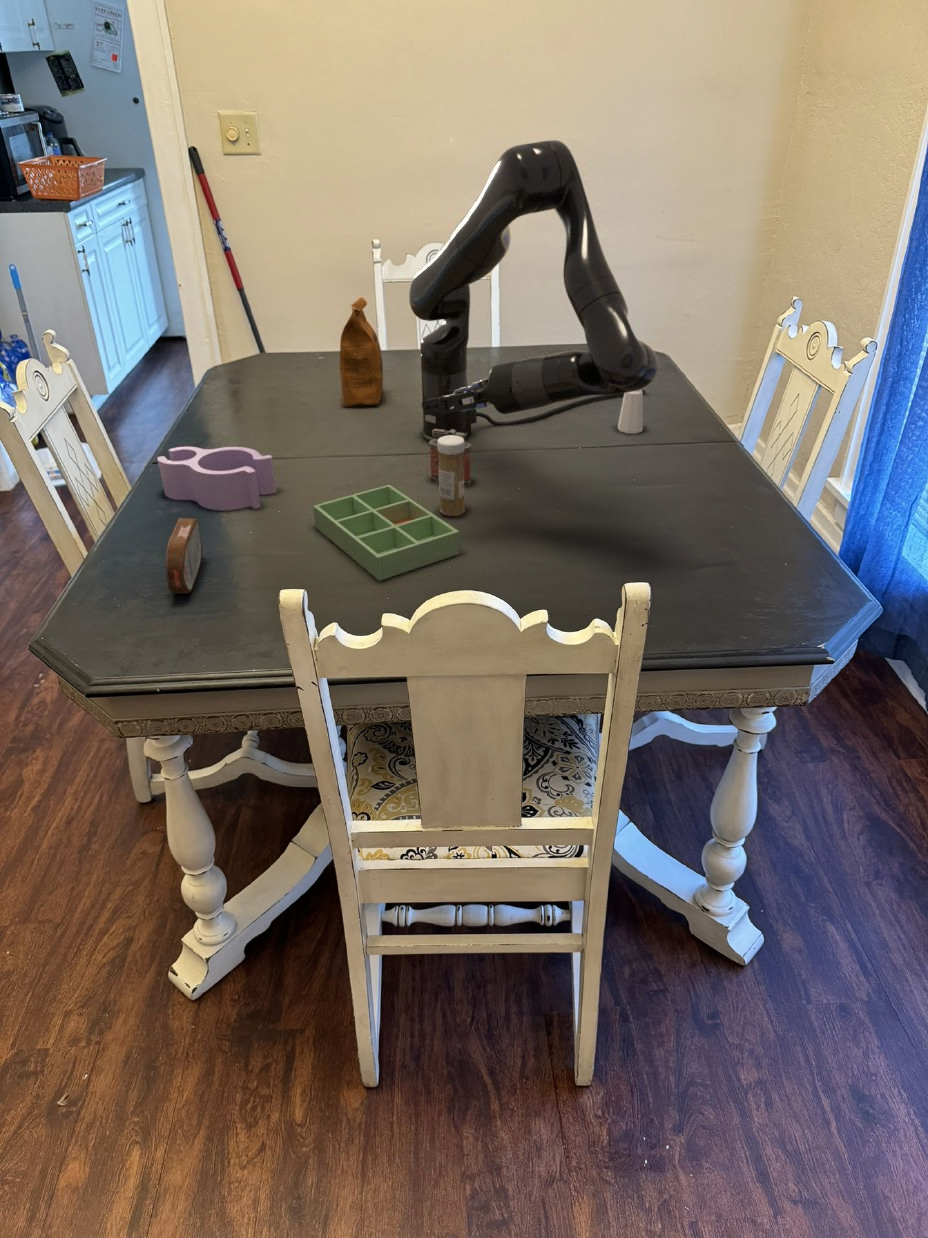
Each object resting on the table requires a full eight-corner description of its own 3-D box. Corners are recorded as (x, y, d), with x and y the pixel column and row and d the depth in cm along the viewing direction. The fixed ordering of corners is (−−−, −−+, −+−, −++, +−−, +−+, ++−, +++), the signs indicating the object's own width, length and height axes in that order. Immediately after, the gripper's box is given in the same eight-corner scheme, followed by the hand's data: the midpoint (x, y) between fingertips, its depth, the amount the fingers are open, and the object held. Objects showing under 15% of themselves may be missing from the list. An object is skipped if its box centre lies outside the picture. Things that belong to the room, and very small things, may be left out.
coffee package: (389, 391, 207) (384, 295, 195) (380, 409, 197) (374, 309, 185) (348, 390, 208) (340, 294, 196) (337, 408, 198) (328, 308, 186)
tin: (188, 555, 140) (178, 508, 136) (208, 554, 140) (199, 507, 136) (170, 605, 128) (158, 554, 123) (191, 603, 128) (181, 553, 123)
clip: (152, 502, 157) (144, 466, 153) (188, 474, 167) (181, 440, 163) (252, 514, 152) (246, 478, 149) (283, 485, 163) (278, 450, 159)
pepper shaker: (614, 432, 184) (619, 380, 178) (620, 423, 188) (625, 373, 182) (639, 435, 182) (645, 383, 176) (645, 426, 187) (650, 376, 180)
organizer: (390, 505, 155) (389, 484, 153) (459, 553, 140) (458, 531, 138) (315, 527, 148) (313, 505, 146) (379, 580, 133) (377, 557, 131)
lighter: (473, 480, 164) (473, 429, 158) (467, 487, 161) (467, 436, 156) (433, 474, 166) (432, 424, 161) (427, 481, 164) (425, 431, 158)
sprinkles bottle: (470, 513, 152) (469, 440, 145) (448, 519, 150) (446, 446, 143) (455, 503, 155) (454, 432, 148) (434, 510, 153) (432, 437, 146)
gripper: (538, 352, 138) (451, 372, 146) (499, 367, 126) (408, 387, 135) (548, 400, 140) (462, 416, 148) (511, 418, 129) (420, 435, 137)
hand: (436, 402), depth 142 cm, fingers open, 8 cm apart
